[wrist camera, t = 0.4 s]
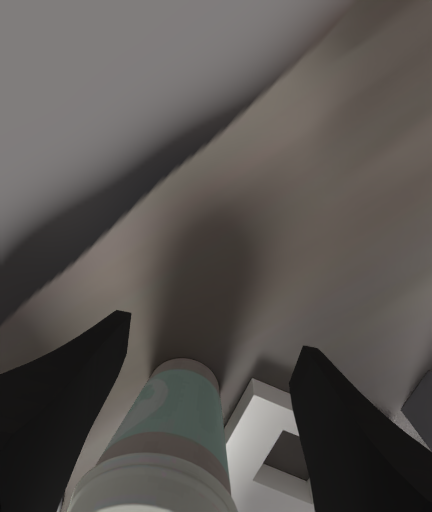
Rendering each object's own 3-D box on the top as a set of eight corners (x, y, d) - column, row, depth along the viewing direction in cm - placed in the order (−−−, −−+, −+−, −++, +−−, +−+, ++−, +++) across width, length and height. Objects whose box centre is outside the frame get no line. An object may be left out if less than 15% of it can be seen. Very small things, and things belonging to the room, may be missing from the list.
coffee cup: (178, 321, 24) (127, 457, 12) (257, 388, 25) (282, 574, 13) (111, 389, 25) (9, 567, 14) (188, 449, 26) (155, 662, 15)
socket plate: (314, 531, 28) (321, 560, 26) (193, 484, 27) (190, 509, 25) (384, 433, 25) (398, 456, 23) (252, 377, 24) (254, 396, 22)
